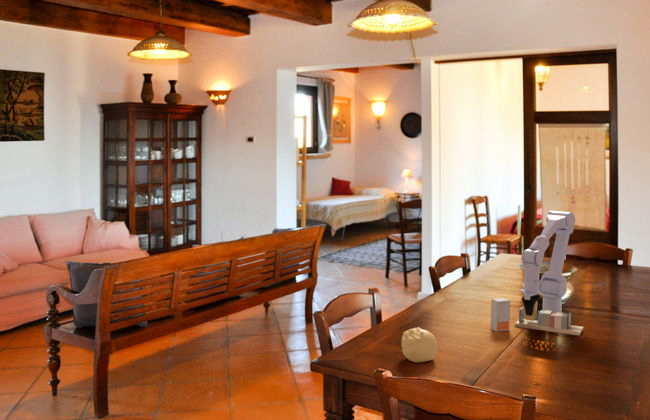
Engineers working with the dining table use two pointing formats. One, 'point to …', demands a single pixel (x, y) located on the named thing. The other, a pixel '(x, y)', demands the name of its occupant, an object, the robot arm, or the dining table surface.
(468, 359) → the dining table surface
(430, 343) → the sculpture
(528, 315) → the tan rectangular block
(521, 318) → the bookends
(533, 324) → the shelf board
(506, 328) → the skincare box
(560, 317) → the books
